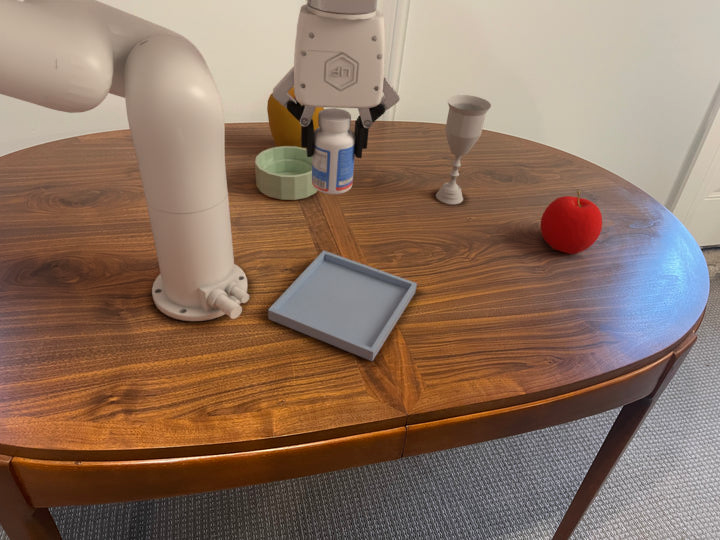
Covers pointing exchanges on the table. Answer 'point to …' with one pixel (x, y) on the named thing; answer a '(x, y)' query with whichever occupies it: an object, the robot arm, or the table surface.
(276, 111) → the apple
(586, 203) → the fruit
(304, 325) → the tray
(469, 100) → the chalice
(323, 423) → the table surface
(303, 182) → the bowl
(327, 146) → the pill bottle
